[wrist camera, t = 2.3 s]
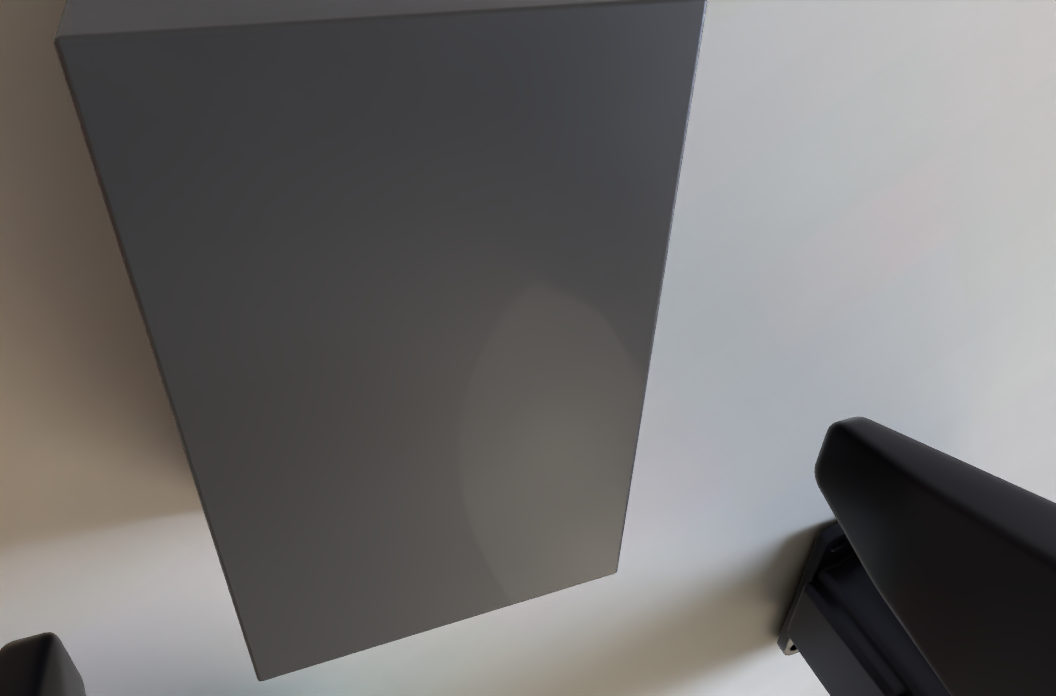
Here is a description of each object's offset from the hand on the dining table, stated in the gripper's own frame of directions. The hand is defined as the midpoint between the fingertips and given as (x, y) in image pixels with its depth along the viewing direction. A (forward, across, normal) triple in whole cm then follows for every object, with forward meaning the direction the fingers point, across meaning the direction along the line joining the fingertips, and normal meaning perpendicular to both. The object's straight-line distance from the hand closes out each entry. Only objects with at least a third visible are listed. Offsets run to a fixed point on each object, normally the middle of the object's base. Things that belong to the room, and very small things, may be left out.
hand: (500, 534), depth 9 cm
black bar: (+6, 0, 0) cm, 6 cm away
